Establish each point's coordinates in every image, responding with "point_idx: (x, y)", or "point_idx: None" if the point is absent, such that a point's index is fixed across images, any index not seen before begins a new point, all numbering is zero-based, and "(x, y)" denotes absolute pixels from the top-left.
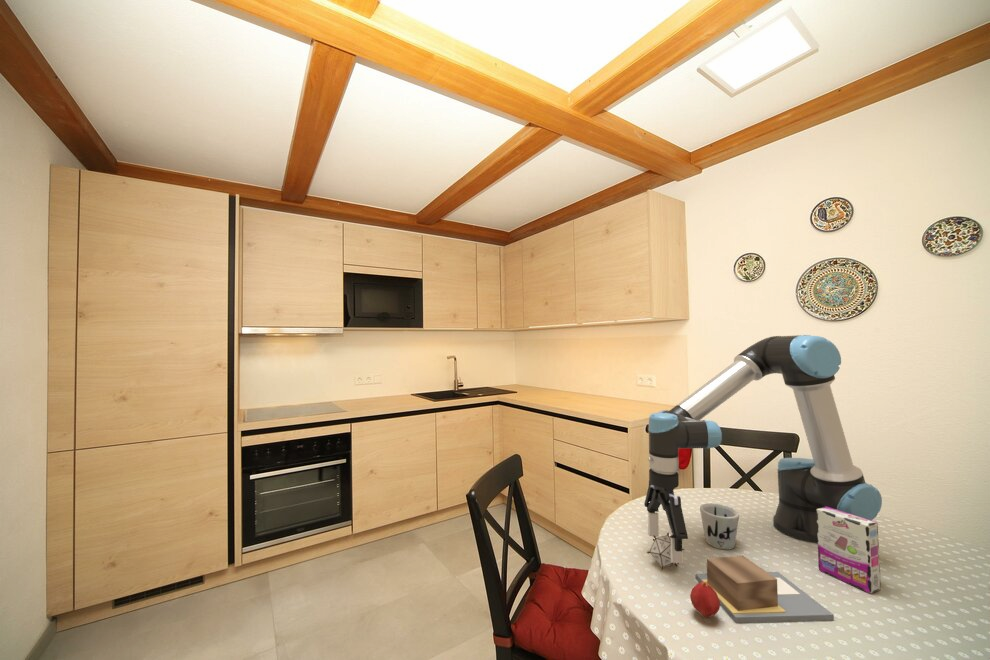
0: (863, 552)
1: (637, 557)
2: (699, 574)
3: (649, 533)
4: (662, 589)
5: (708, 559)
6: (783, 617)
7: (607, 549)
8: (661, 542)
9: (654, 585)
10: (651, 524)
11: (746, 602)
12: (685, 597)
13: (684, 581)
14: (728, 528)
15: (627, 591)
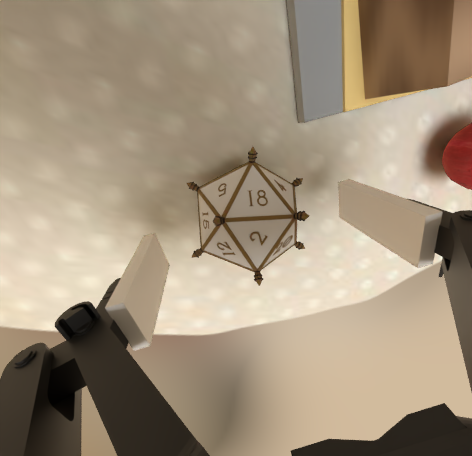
0: None
1: (212, 267)
2: (308, 108)
3: (167, 271)
4: (346, 225)
5: (455, 78)
6: None
7: (191, 327)
8: (277, 250)
9: (332, 240)
10: (157, 290)
11: None
12: (378, 177)
13: (314, 162)
14: None
15: (350, 289)
